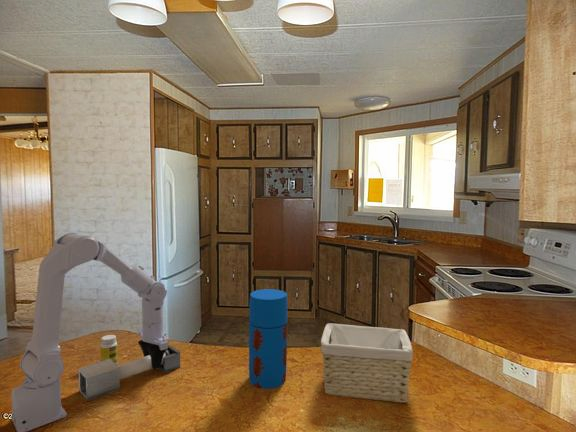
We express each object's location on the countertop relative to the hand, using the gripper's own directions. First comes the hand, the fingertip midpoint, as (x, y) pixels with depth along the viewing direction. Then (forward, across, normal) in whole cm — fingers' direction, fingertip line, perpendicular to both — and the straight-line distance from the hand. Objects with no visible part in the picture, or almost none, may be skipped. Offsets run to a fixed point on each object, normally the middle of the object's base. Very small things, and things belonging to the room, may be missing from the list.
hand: (153, 365), depth 109 cm
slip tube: (+1, 0, +4) cm, 4 cm away
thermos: (+2, -27, -22) cm, 35 cm away
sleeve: (+2, 0, +15) cm, 15 cm away
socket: (+2, 0, -4) cm, 5 cm away
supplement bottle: (+2, +14, +8) cm, 16 cm away
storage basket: (+2, -48, -39) cm, 62 cm away
